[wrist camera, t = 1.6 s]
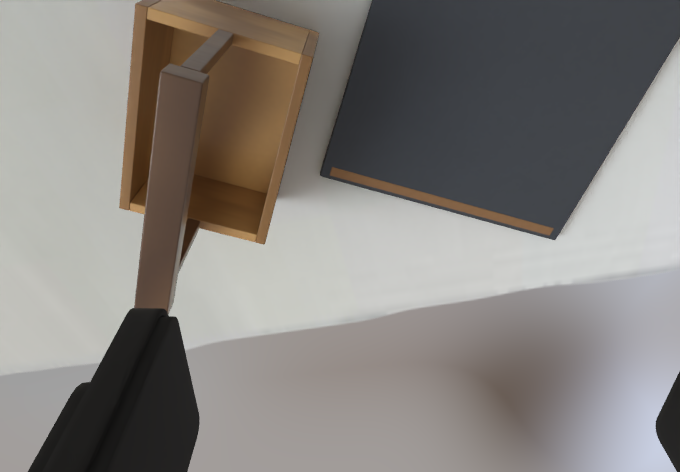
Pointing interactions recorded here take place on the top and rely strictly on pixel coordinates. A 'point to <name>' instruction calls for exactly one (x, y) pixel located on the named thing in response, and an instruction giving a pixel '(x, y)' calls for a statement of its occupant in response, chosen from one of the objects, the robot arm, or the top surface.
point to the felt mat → (495, 101)
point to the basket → (206, 128)
